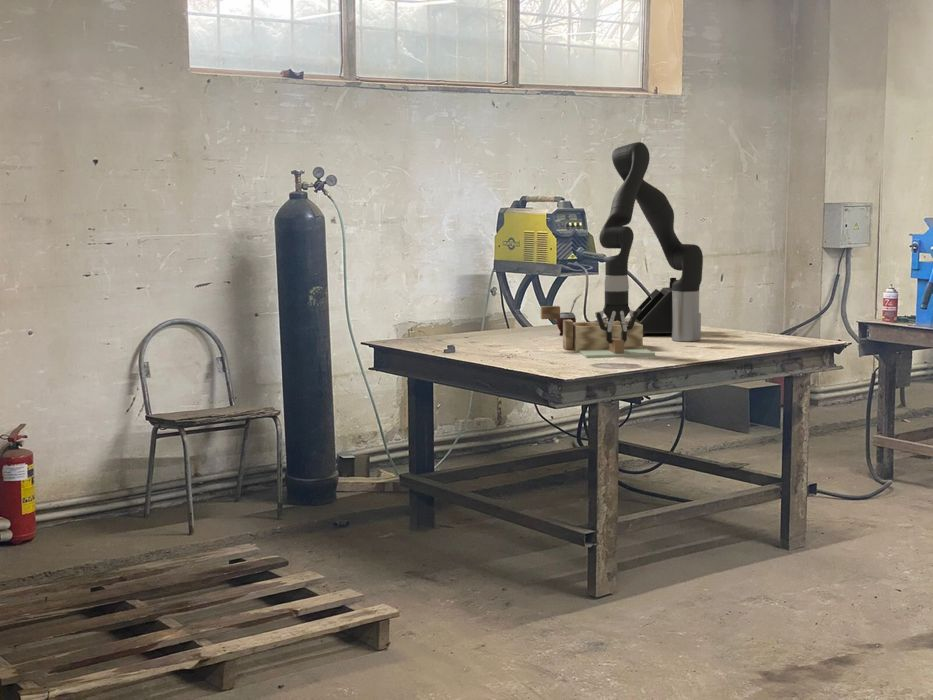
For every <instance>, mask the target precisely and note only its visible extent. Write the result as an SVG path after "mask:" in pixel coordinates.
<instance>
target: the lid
mask: <svg viewBox="0 0 933 700" xmlns="http://www.w3.org/2000/svg"><path fill="white" fill-rule="evenodd" d="M578 353H579V354H580V355H581V356H583V357H584V358H586V359H595V358H596V359H597V358H625V357H626V358H627V357H628V358H631V357H632V358H633V356H634V357H635V356H637V357H656V353H655V352H653V351H651V350H649V349H647V348H643V349H624V341H623V340H621V339H619V338H612V344H609V350H584V351H578ZM635 358H636V357H635Z"/></svg>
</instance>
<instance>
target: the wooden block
mask: <svg viewBox="0 0 933 700" xmlns="http://www.w3.org/2000/svg"><path fill="white" fill-rule="evenodd" d="M560 313H561V306H560V305H544V306H543V305H540V319H541V320H557V319H560Z"/></svg>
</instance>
